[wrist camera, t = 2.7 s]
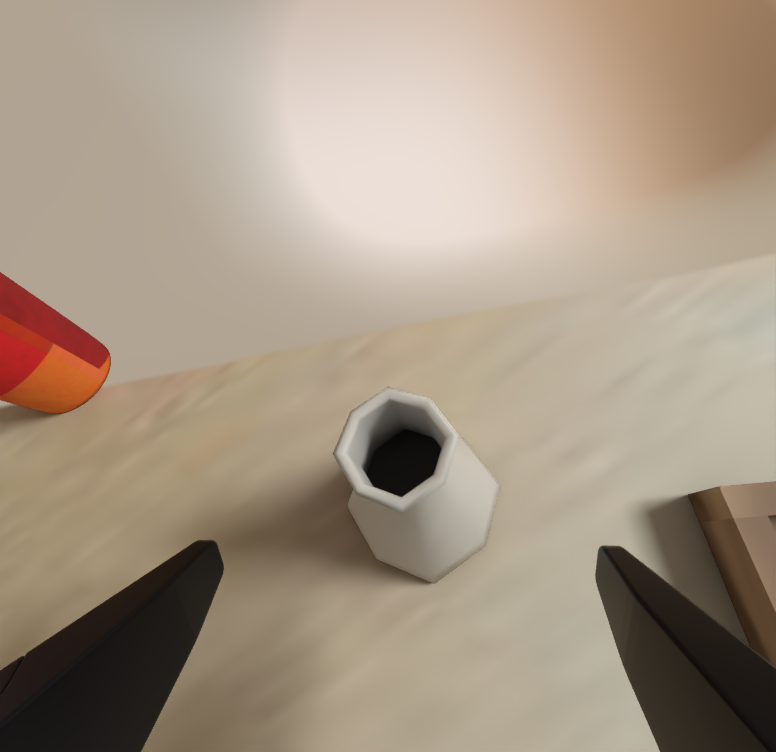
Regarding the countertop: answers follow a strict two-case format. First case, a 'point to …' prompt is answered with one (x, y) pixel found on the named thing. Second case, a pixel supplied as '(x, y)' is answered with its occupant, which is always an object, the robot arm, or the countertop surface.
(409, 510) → the flask
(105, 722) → the robot arm
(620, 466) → the countertop surface
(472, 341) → the countertop surface
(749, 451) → the countertop surface
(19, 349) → the paper cup
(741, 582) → the walnut tray
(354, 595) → the countertop surface
